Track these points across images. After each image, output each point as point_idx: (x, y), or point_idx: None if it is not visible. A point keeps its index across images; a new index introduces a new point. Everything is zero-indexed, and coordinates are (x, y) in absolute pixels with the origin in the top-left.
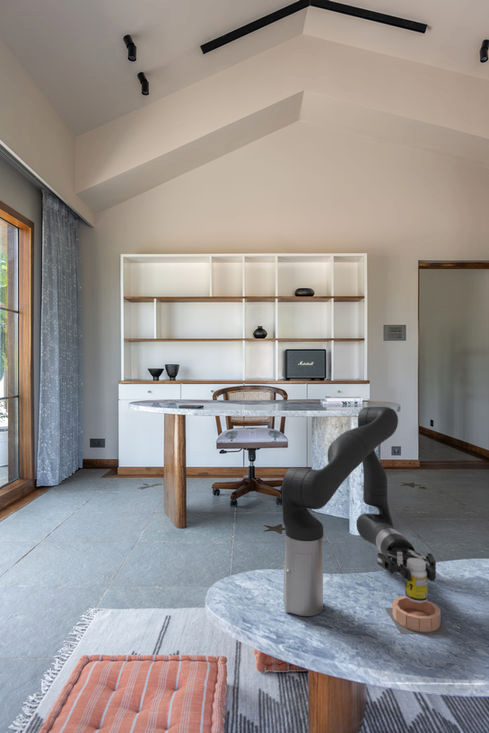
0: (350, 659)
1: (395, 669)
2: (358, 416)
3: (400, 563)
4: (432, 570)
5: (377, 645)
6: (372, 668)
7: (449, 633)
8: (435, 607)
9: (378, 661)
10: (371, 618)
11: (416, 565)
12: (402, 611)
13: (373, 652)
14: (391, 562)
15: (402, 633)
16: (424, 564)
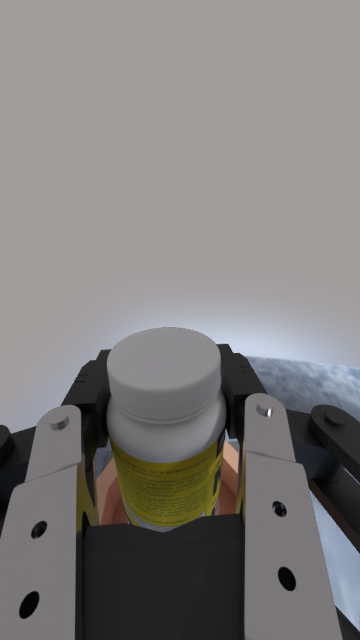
0: (323, 371)
1: (252, 361)
2: None
3: (262, 402)
4: (99, 356)
5: (288, 404)
6: (285, 360)
7: (111, 453)
8: (98, 505)
9: (279, 371)
10: (345, 543)
11: (180, 330)
12: (235, 459)
13: (291, 387)
14: (331, 411)
15: (235, 442)
16: (133, 335)
